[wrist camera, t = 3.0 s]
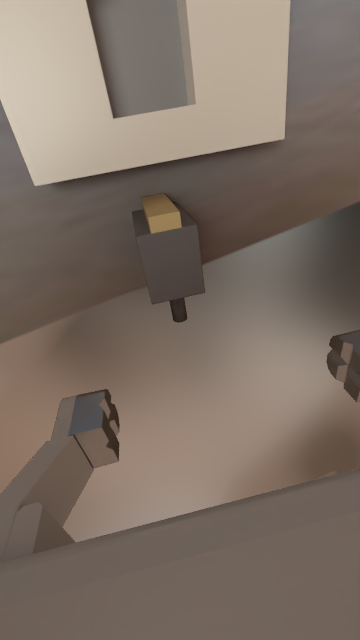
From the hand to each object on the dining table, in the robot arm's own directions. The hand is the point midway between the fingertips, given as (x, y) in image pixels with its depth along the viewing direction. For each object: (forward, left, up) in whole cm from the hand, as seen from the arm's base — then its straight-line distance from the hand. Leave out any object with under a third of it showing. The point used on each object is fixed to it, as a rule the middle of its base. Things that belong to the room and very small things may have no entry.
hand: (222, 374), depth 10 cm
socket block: (+12, -1, -19) cm, 22 cm away
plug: (0, 0, -19) cm, 19 cm away
